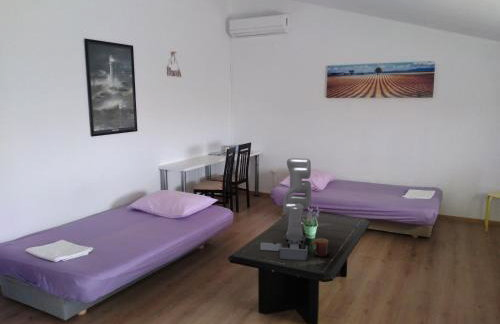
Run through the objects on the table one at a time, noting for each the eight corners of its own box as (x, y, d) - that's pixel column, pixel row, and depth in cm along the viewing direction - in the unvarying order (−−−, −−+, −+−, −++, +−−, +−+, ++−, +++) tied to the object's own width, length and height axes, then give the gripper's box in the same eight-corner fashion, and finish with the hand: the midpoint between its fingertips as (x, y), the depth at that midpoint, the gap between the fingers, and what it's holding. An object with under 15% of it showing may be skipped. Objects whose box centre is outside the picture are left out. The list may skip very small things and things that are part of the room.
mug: (324, 252, 273) (325, 238, 271) (329, 257, 264) (330, 242, 262) (308, 253, 270) (308, 239, 269) (312, 258, 262) (313, 243, 260)
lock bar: (260, 248, 278) (261, 240, 277) (280, 249, 275) (280, 242, 274) (260, 249, 276) (260, 241, 275) (279, 251, 273) (280, 243, 272)
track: (259, 248, 278) (259, 248, 278) (280, 250, 276) (280, 250, 276) (259, 250, 275) (259, 250, 275) (279, 251, 273) (279, 251, 273)
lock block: (290, 247, 281) (290, 239, 280) (298, 247, 280) (299, 239, 279) (289, 251, 274) (289, 243, 272) (298, 252, 273) (298, 243, 272)
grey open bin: (280, 252, 273) (280, 242, 272) (307, 253, 270) (307, 244, 268) (278, 258, 262) (278, 248, 260) (306, 260, 258) (306, 250, 257)
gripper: (307, 223, 276) (307, 247, 279) (282, 221, 279) (282, 246, 282) (307, 226, 269) (306, 251, 272) (281, 224, 272) (281, 249, 275)
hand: (294, 248), depth 277 cm, fingers closed on lock block, 6 cm apart
